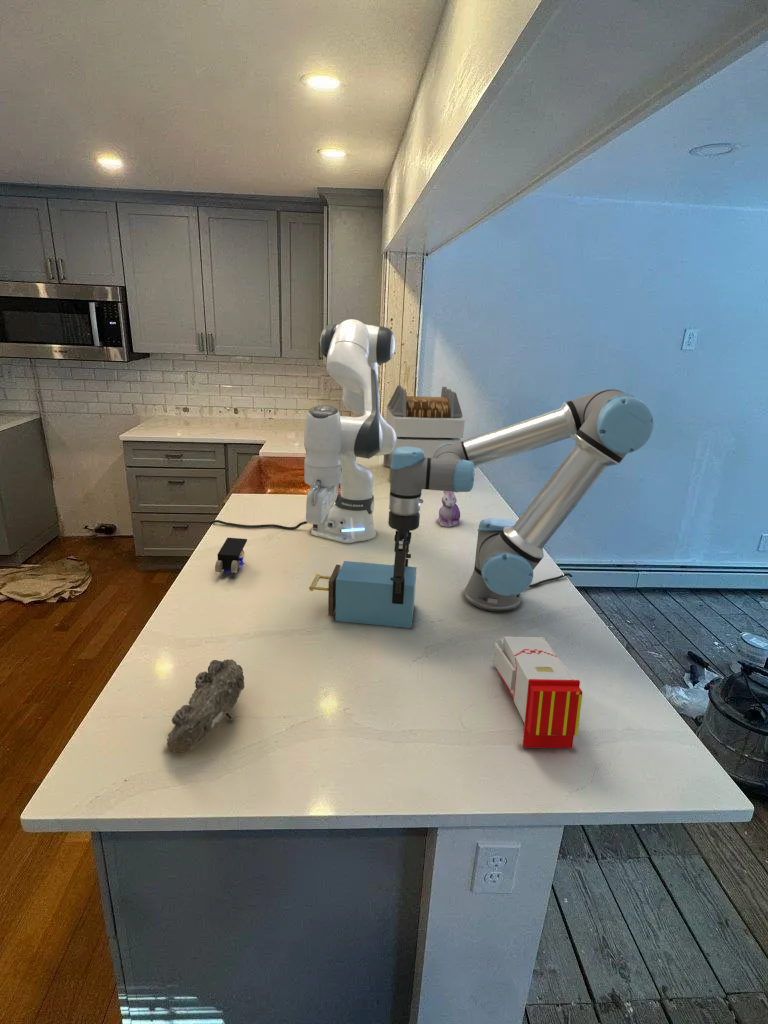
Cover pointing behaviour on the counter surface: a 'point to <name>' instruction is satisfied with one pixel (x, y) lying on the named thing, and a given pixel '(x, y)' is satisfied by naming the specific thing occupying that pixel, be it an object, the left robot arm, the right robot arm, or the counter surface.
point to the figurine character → (230, 556)
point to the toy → (539, 691)
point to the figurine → (449, 510)
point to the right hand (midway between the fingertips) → (399, 592)
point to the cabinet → (373, 595)
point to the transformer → (424, 421)
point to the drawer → (330, 589)
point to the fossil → (206, 705)
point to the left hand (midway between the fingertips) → (322, 528)
